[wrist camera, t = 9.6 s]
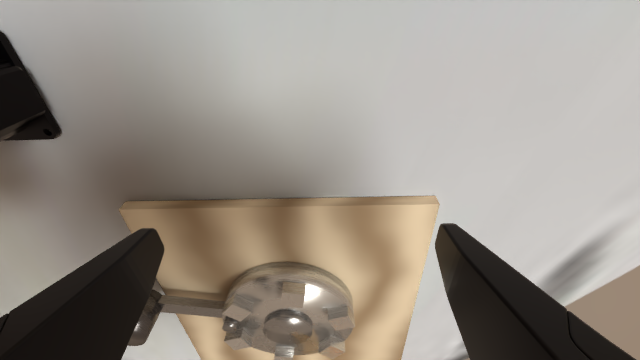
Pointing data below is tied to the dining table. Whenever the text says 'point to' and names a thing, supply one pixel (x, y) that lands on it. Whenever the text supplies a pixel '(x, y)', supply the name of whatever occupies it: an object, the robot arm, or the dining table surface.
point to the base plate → (296, 259)
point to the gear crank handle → (270, 311)
